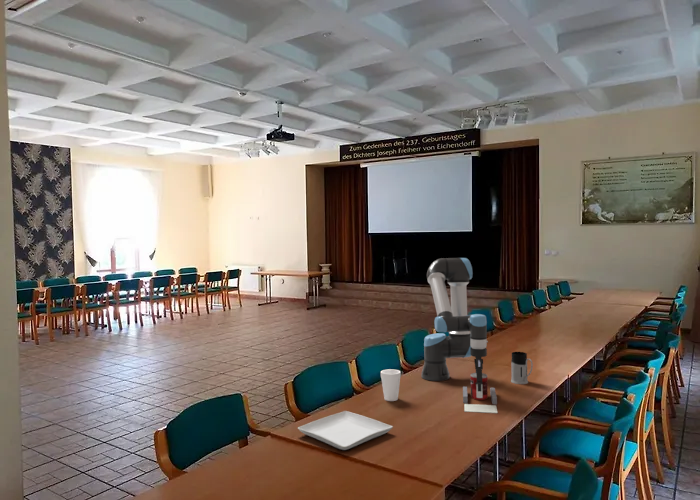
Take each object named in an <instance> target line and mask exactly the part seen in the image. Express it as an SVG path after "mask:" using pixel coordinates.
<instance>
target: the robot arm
mask: <svg viewBox="0 0 700 500" xmlns="http://www.w3.org/2000/svg"><path fill="white" fill-rule="evenodd" d="M472 278H473V266H472V264H471V261H470V260H469V259H468V258H467V257H448V258H447V257H446V258H444V257H443V258H442V257H441V258H437V259H436V260H434V261H433V262H432V263H431V264H430V265H429V267H428V268H427V272H426V279H427V283H428V284H429V286H430V288H431V289H430V290H431V293H432V297H433V303H434V306H435V311H436V317H434V321H433V322H434V329H435V331H436V332H438V333H432V334H427V335H426V336H425V337H424V339H423V341H424V343H423V346H424V347H423V348H424V349H423V351H424V354H423V355H424V363H423V366H422V370H421V378H422V379H424V380H427V381H432V382H433V381H435V382H438V381H439V382H440V381H441V382H442V381H446V380H449V379H450V372H449V368H448V365H447V359H454V358H458V359H459V358H462V359H464V358H471V357H475V358H473V359H474V360H473V362H474V369H475V373H477V382H476V383H475V384H476V393H477V398H483V392H482V383H483V382H482V373H483V368H484V359H483V358H485V357H486V356H487V355H488V351H487V350H488V349H487V343H488V342H489V341H488V340H487V337H488V335H487V330H488V329H487V323H488V322H487V316H486V315H485V314H481V313H475V314H468V297H467V296H468V294H467V285H468V284H469V283H470V280H472ZM446 280H447V284H448V285H449V286H450V288H449V289H450V299H449V295H448V291H447V286H446V282H445V281H446ZM445 333H448V336H447V335H446V334H445Z"/></svg>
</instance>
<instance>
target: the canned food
mask: <svg viewBox="0 0 700 500" xmlns="http://www.w3.org/2000/svg"><path fill="white" fill-rule="evenodd" d="M469 378H470V397H471V399H473V400H476V401H477V400H478V401H485V400H487V399H488V395H489V394H488V393H489V391H488V390H489V389H488V386H489V385H488V384H489V383H488V381H489V380H488V378H489V377H488V374H486V373H484V372H482V382H483V383H482V392H483V398H477V393H476V384H475V383H476V382H477V373H476V372H473V373H470V377H469Z"/></svg>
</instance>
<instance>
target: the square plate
mask: <svg viewBox="0 0 700 500" xmlns="http://www.w3.org/2000/svg"><path fill="white" fill-rule="evenodd" d="M393 427H394V426H393V425H391V424H387V423H384V422H383V421H381V420H377V419H375V418H370V417H367V416H365V415H361V414H358V413H354V412H351V411H349V410H348V411H347V410H343V411H341V412H337V413H334V414H330V415H328V416H324V417H321V418H319V419H317V420H313V421H311V422H308V423H306V424H303V425H300V426H298V427H297V430H299V432H301V433H302V434H304V435H306V436H309V437H311V438H314V439H316V440H318V441H320V442H323V443H324V444H328V445H329V446H332V447H333V448H336V449H338V450H342V451H347V450H349V449H352V448H355V447H358V445H361V444H363V443H365V442H368V441H370V440H373V439H375V438H378V437H380V436H382V435H385V434H386V433H388V432H390V431H391V430H392V429H393Z"/></svg>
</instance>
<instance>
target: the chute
mask: <svg viewBox="0 0 700 500" xmlns="http://www.w3.org/2000/svg"><path fill="white" fill-rule="evenodd" d="M489 390H490V392H489V393H490V399H491V403H492V404H478V403H477V404H476V403H475V404H473V403H468V400H469V399H468V386H462V403H464V410H463V411H464V412H465V413H469V412H470V413H485V414H486V413H487V414H499V413H498V408H497V405H498V397H497V392H496V388H495V387H490V388H489Z"/></svg>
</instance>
